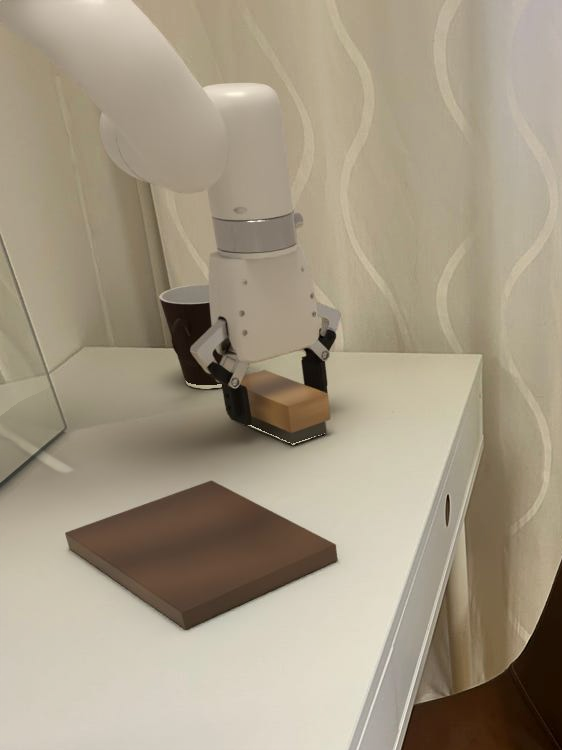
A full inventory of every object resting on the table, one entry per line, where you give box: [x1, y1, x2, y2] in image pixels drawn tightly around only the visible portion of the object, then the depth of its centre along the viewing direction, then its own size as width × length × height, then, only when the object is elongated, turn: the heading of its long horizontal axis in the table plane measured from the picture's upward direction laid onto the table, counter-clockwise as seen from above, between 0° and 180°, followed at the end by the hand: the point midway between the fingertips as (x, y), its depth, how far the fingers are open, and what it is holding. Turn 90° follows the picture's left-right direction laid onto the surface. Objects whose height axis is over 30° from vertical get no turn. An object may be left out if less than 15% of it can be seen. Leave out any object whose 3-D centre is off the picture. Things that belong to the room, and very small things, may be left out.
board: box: [64, 480, 338, 630], centre depth 79 cm, size 18×14×2 cm
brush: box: [241, 369, 331, 444], centre depth 101 cm, size 11×5×4 cm, turn 46°
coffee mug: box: [158, 283, 223, 385], centre depth 111 cm, size 12×9×10 cm
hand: (279, 408), depth 101 cm, fingers open, 9 cm apart
